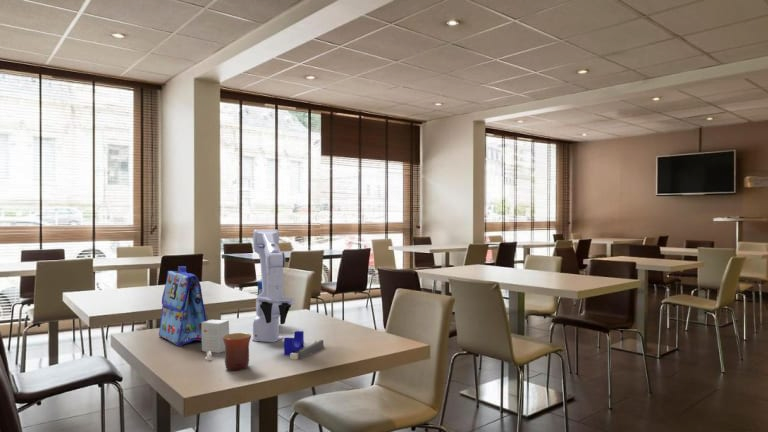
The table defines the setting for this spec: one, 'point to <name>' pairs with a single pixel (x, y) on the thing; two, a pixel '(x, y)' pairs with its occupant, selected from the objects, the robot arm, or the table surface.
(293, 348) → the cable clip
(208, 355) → the power adapter
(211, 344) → the small box
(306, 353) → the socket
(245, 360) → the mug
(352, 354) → the table surface
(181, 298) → the lunch bag
